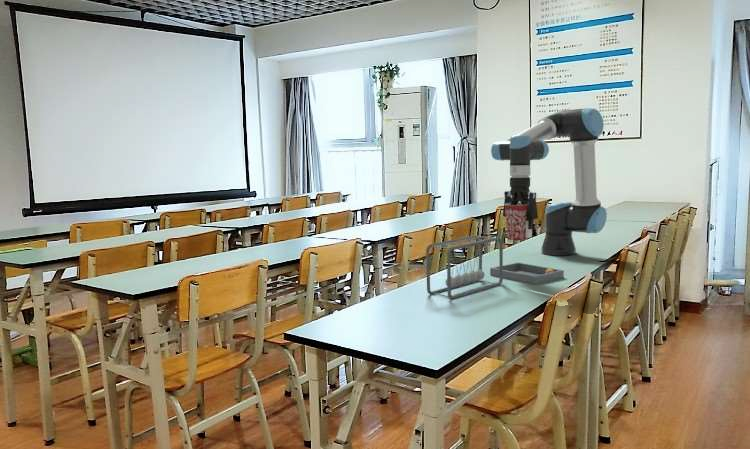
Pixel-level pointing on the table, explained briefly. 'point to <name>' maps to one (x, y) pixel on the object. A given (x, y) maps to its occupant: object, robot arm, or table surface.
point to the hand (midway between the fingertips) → (519, 236)
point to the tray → (527, 273)
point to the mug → (516, 221)
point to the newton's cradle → (466, 277)
